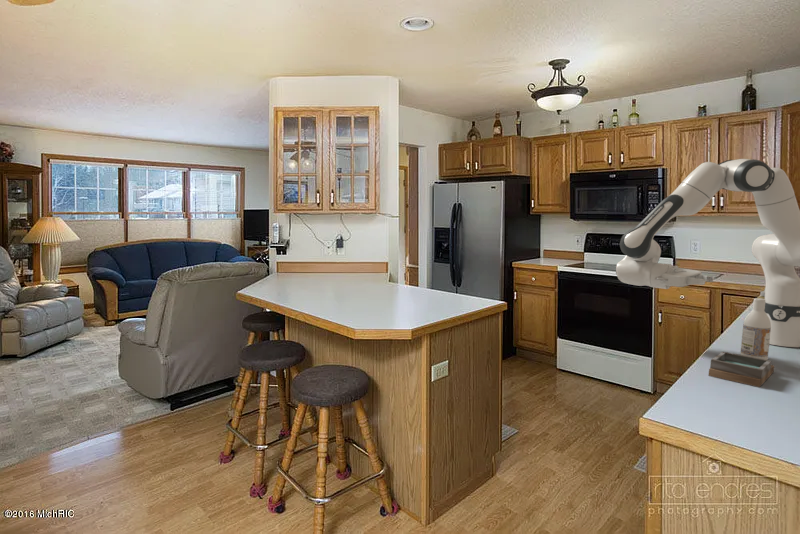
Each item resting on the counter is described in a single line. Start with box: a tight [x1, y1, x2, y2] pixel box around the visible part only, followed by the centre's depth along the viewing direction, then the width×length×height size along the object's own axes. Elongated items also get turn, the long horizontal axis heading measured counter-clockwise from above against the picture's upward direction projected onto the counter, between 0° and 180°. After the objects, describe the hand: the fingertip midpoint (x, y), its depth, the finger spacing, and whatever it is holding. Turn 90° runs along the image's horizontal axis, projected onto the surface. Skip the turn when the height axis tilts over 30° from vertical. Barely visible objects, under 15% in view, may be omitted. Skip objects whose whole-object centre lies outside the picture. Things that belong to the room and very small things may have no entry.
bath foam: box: [740, 297, 771, 360], centre depth 150 cm, size 7×7×20 cm
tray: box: [708, 351, 775, 388], centre depth 139 cm, size 18×12×4 cm, turn 132°
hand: (709, 280), depth 159 cm, fingers open, 8 cm apart
